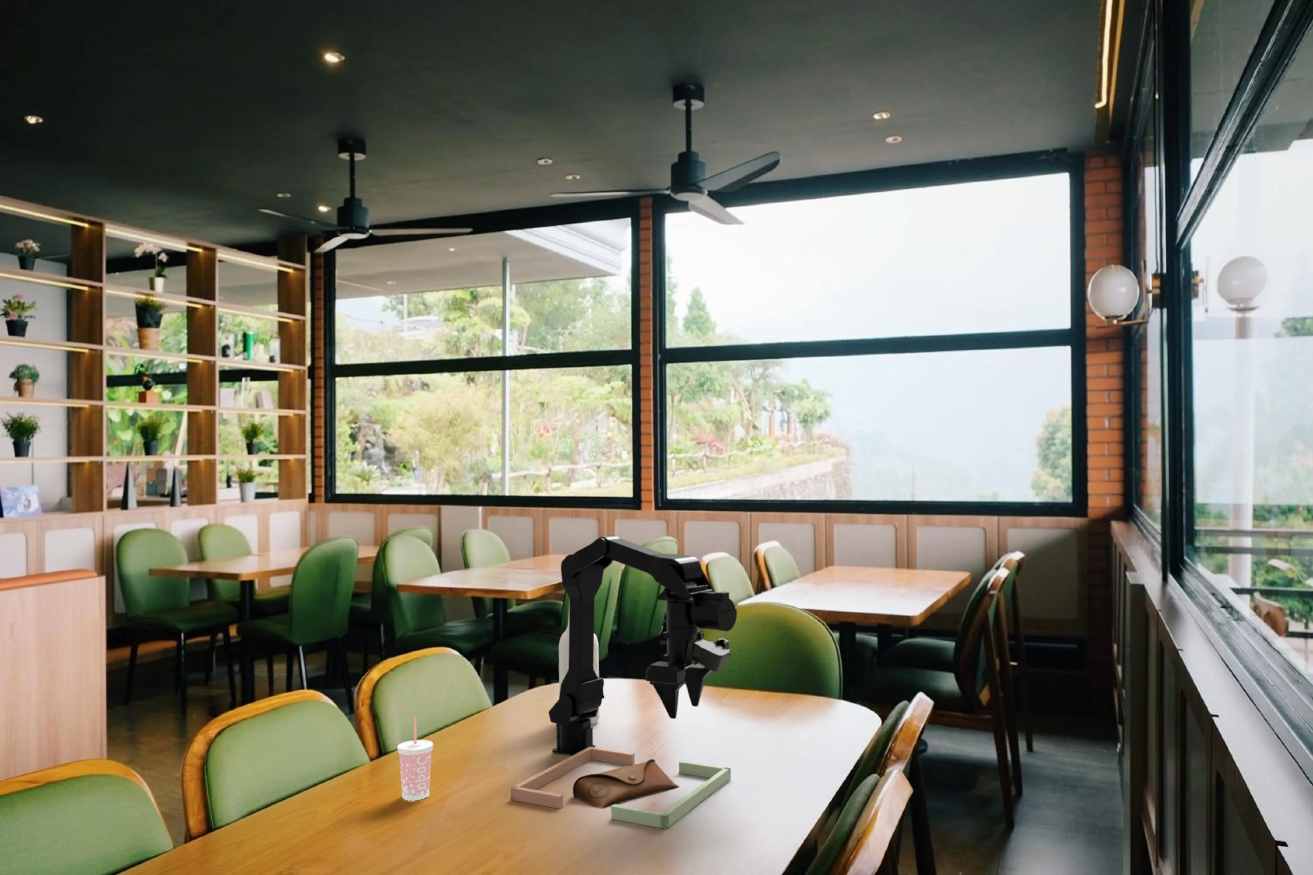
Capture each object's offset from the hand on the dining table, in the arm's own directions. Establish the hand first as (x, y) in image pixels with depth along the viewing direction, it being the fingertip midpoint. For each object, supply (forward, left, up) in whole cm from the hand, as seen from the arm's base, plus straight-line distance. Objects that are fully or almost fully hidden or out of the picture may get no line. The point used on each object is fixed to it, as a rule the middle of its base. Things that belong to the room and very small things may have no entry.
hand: (684, 712), depth 174 cm
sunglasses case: (-7, -10, -13) cm, 17 cm away
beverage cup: (-39, -28, -13) cm, 49 cm away
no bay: (-18, -9, -12) cm, 23 cm away
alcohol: (-38, +24, -13) cm, 46 cm away
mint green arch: (+2, -9, -12) cm, 15 cm away
